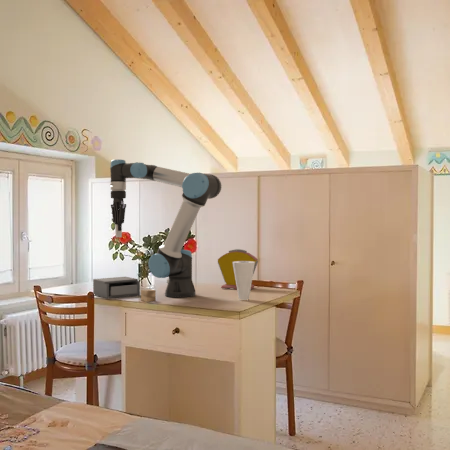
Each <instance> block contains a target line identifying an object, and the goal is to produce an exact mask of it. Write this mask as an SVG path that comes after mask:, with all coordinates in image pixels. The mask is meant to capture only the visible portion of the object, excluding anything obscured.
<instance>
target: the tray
mask: <svg viewBox="0 0 450 450" xmlns="http://www.w3.org/2000/svg"><path fill="white" fill-rule="evenodd" d="M134 293H137V285H126V286H115V287H111V291H110V290H109V295H111V296H114V295H124V294H134Z"/></svg>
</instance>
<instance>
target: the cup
mask: <svg viewBox="0 0 450 450" xmlns="http://www.w3.org/2000/svg"><path fill="white" fill-rule="evenodd" d="M254 265H255V262H253V261H235V262H233V268H234V274H235V280H236V286H237V289H236V291H237V296H238V297H237V298H238V300H239V299H241V300H247V299H249V300H250V295H251V290H252V289H251V285H253V284H252V283H253V277H254V274H253V271H254ZM254 272H255V271H254ZM241 300H240V301H241ZM247 301H248V300H247Z"/></svg>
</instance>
